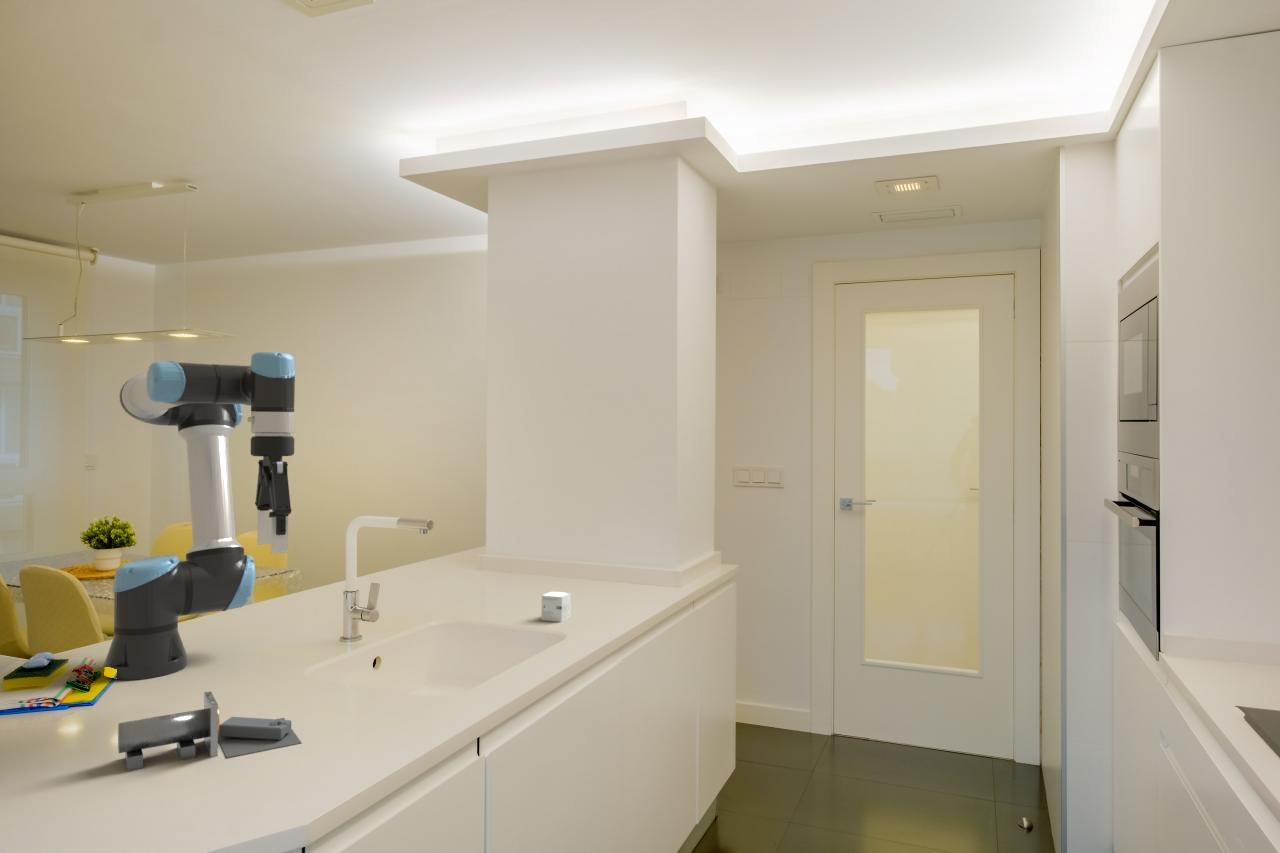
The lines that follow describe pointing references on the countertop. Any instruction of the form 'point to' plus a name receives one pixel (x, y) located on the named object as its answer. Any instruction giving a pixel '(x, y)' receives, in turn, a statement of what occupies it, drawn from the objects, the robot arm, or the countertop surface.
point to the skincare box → (556, 606)
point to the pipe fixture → (171, 733)
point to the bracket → (254, 728)
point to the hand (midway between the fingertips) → (272, 548)
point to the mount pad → (255, 744)
